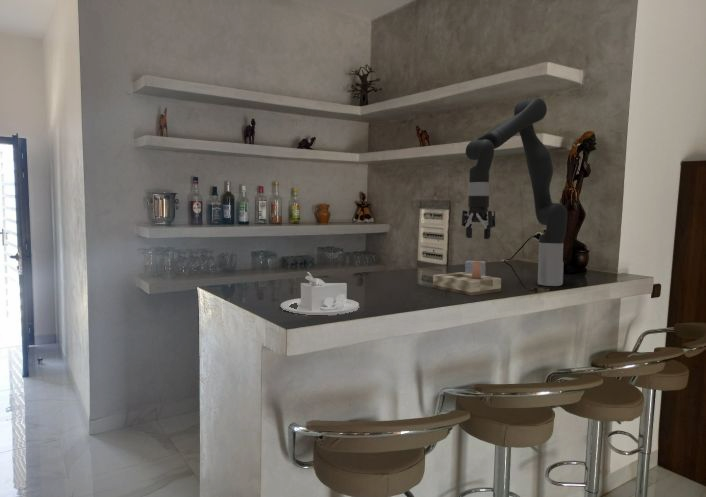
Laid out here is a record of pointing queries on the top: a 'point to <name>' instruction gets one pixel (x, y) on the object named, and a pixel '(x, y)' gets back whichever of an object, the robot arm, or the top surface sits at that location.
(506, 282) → the top surface
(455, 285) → the beige flat block
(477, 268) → the peg
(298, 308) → the dish
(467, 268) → the medicine box
